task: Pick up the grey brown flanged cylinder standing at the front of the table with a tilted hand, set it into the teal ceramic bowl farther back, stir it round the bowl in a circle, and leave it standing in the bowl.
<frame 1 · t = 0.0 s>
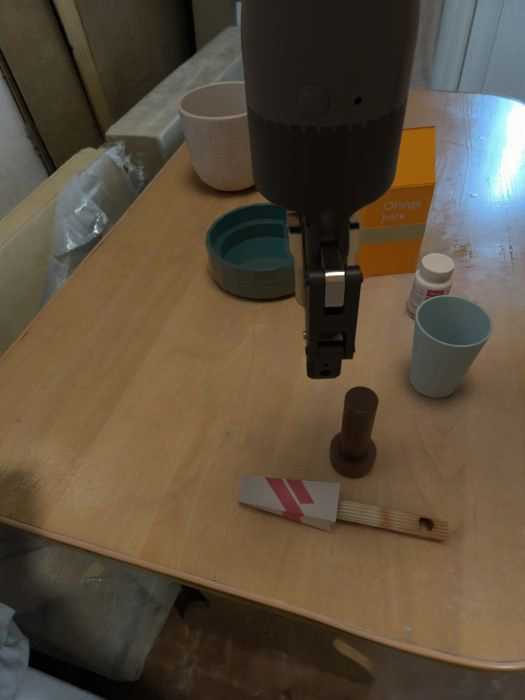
hand: (317, 328, 33), 21 cm above the table, tool pointing down, fingers open, 8 cm apart
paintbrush: (338, 514, 45), on the table
pill bottle 2: (362, 180, 88), on the table
bowl: (265, 265, 72), on the table
grey brown flanged cylinder: (351, 458, 49), on the table
cup: (432, 380, 55), on the table
planter: (234, 180, 91), on the table
orange juice: (379, 260, 71), on the table
pill bottle: (424, 312, 63), on the table
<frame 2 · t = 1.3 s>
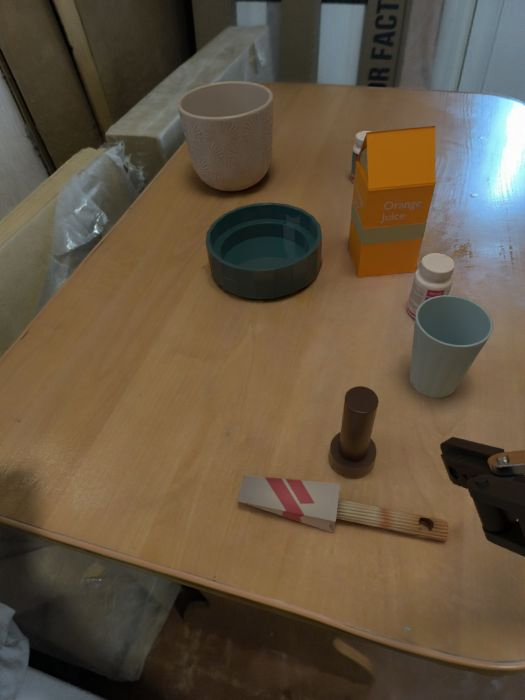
hand: (509, 422, 25), 23 cm above the table, tool tilted 45°, fingers open, 8 cm apart
nothing on the table moved.
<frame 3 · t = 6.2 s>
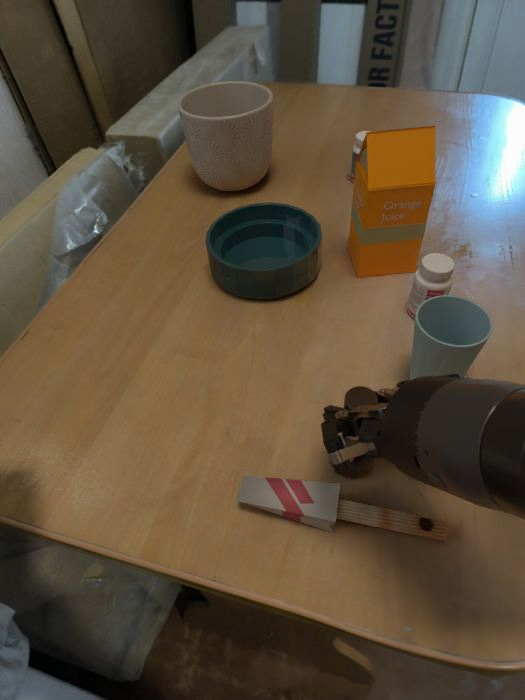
hand: (345, 408, 45), 7 cm above the table, tool tilted 45°, fingers closed on grey brown flanged cylinder, 3 cm apart
grey brown flanged cylinder: (351, 458, 49), on the table, touching gripper
everything else where it was.
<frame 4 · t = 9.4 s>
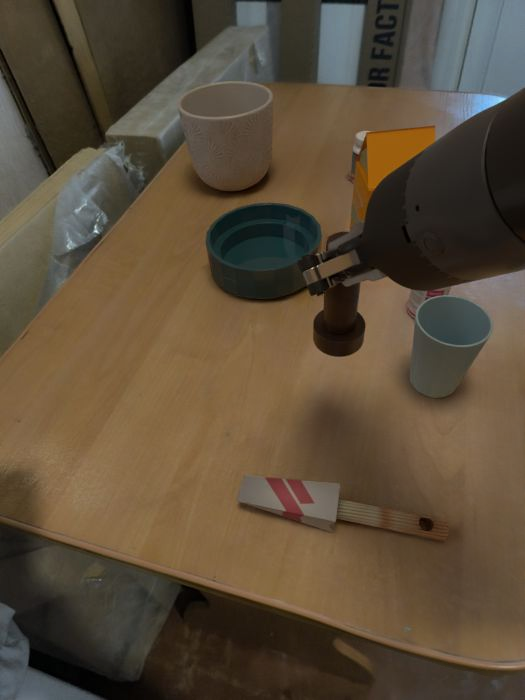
hand: (328, 269, 40), 20 cm above the table, tool tilted 45°, fingers closed on grey brown flanged cylinder, 3 cm apart
grey brown flanged cylinder: (338, 338, 44), point 13 cm above the table, touching gripper
everything else where it was.
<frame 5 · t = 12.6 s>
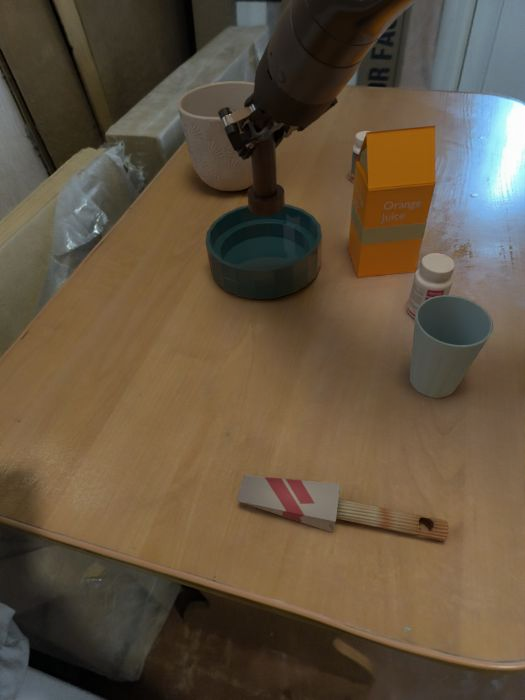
hand: (255, 147, 56), 20 cm above the table, tool tilted 45°, fingers closed on grey brown flanged cylinder, 3 cm apart
grey brown flanged cylinder: (266, 205, 60), point 13 cm above the table, touching gripper
everything else where it was.
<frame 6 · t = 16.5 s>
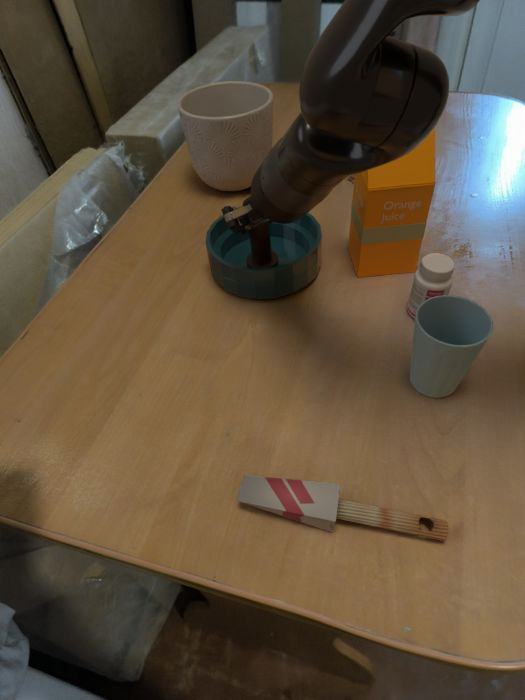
hand: (252, 223, 66), 8 cm above the table, tool tilted 45°, fingers closed on grey brown flanged cylinder, 3 cm apart
grey brown flanged cylinder: (262, 269, 70), point 1 cm above the table, touching gripper
everything else where it was.
when the fingers open (8 cm above the table, at t = 19.3 s): grey brown flanged cylinder stays where it is, resting on bowl.
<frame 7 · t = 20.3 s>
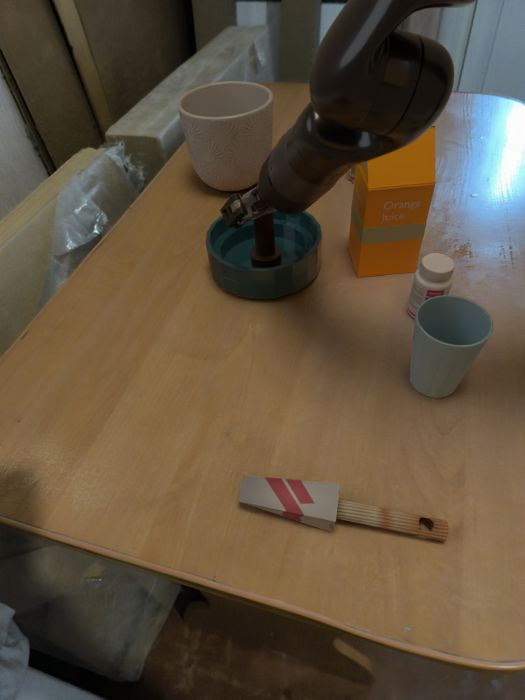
hand: (261, 213, 66), 9 cm above the table, tool tilted 45°, fingers open, 8 cm apart
grey brown flanged cylinder: (266, 261, 71), point 1 cm above the table, touching bowl
everything else where it was.
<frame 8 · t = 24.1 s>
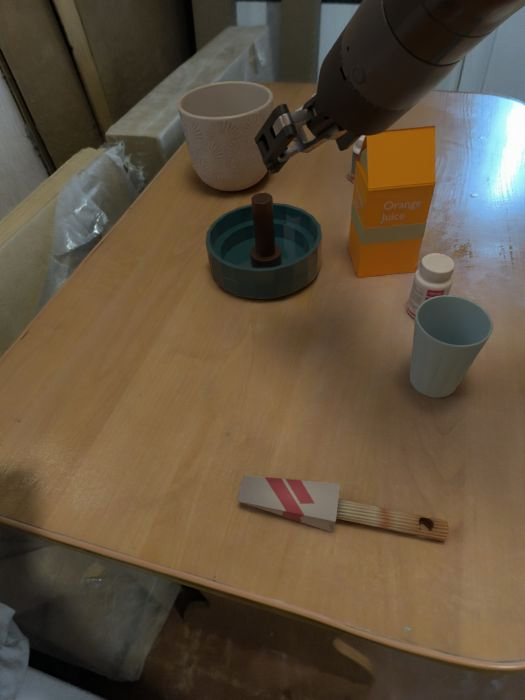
hand: (305, 153, 48), 23 cm above the table, tool tilted 45°, fingers open, 8 cm apart
nothing on the table moved.
at the end: grey brown flanged cylinder inside the target area in the bowl (0.2 cm from its centre), point 0.8 cm above the bowl's base; grey brown flanged cylinder tilted 0°; the gripper is holding nothing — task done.
